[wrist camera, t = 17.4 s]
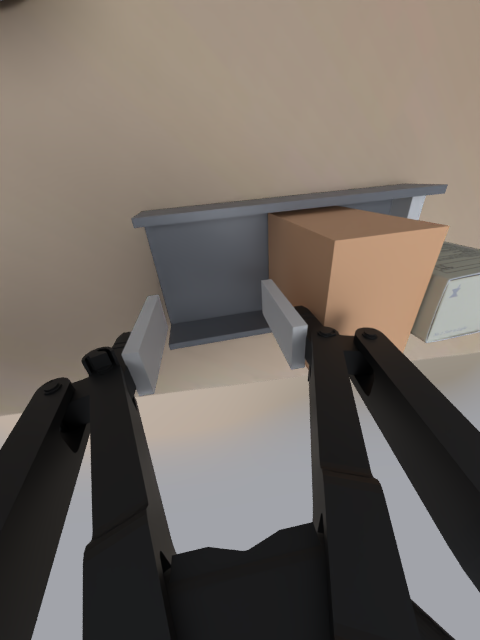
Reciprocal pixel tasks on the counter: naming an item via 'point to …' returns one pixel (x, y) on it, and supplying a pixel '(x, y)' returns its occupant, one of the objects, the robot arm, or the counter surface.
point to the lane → (240, 255)
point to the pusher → (354, 266)
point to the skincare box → (451, 296)
